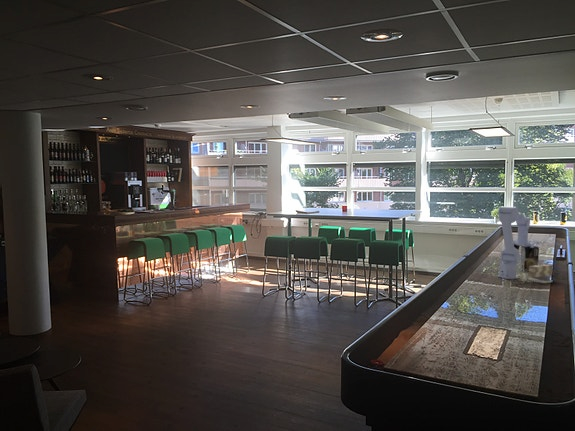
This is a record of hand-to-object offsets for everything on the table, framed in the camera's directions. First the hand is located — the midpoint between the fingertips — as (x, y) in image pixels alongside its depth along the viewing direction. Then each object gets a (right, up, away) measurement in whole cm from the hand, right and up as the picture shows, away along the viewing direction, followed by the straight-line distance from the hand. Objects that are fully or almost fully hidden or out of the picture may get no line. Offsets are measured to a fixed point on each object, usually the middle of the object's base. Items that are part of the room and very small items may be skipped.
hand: (521, 257), depth 287 cm
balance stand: (+1, -12, -20) cm, 23 cm away
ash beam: (+1, -9, -20) cm, 22 cm away
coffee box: (+11, -10, +12) cm, 19 cm away
